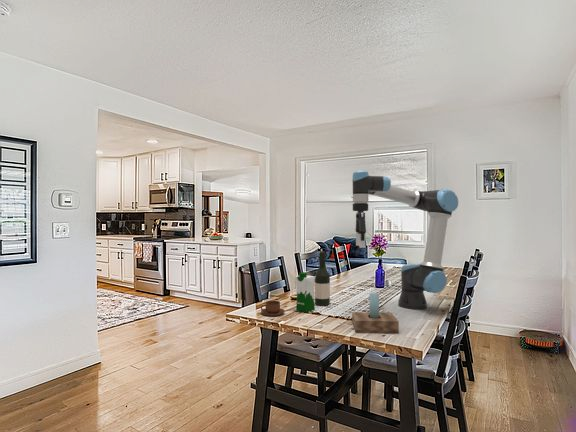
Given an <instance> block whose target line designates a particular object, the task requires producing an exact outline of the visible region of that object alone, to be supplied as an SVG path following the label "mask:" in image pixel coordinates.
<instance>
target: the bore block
mask: <svg viewBox="0 0 576 432" xmlns="http://www.w3.org/2000/svg"><path fill="white" fill-rule="evenodd" d="M351 316H352V318H351V321H352V322H351V323H352V327H353V329H354V331H355V333H359V334H360V333H362V334H363V333H364V334H365V333H368V334H371V333H372V334H373V333H374V334H399V333H400V327H399V326H400V323H399V320H398V319H397V317H396V316H395V315H394V314H393V312H379V318H370V312H364V311H363V312H362V311H360V312H357V311H356V312H355V311H354V312H353V311H352V313H351Z"/></svg>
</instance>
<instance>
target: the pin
mask: <svg viewBox="0 0 576 432" xmlns="http://www.w3.org/2000/svg"><path fill="white" fill-rule="evenodd" d="M379 307H380V294H379V293H376V292H370V293H369V313H370V318H379V313H380V308H379Z"/></svg>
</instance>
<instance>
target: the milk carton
mask: <svg viewBox="0 0 576 432" xmlns="http://www.w3.org/2000/svg"><path fill="white" fill-rule="evenodd" d="M315 277H316V276H315V275H314V276H313V275H308V273H307V272H303V271H302V272H299V273H298V275H296V276H295V277H294V278H295V282H296V307H295V310H296V311H298V312H302V313H306V314H307V313H310V312H313V311H312V310H314V311H315V309H316V307H315V306H316V305H315ZM309 311H310V312H309Z"/></svg>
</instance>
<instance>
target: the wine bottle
mask: <svg viewBox="0 0 576 432" xmlns="http://www.w3.org/2000/svg"><path fill="white" fill-rule="evenodd" d="M314 276H316V277H315V282H314V306H316V305H317V307H328V305H329V306H330V305H331V301H330V300H331V295H330V294H331V293H330V291H331V289H330V288H331V286H330V285H331V284H330V283H331V281H330V280H331V277H330V276H331V274H330V273H329V271H328V270H327V268H326V252H325V251H323V250H321V251H319V253H318V269H317V271H316V272H315V274H314Z"/></svg>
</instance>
